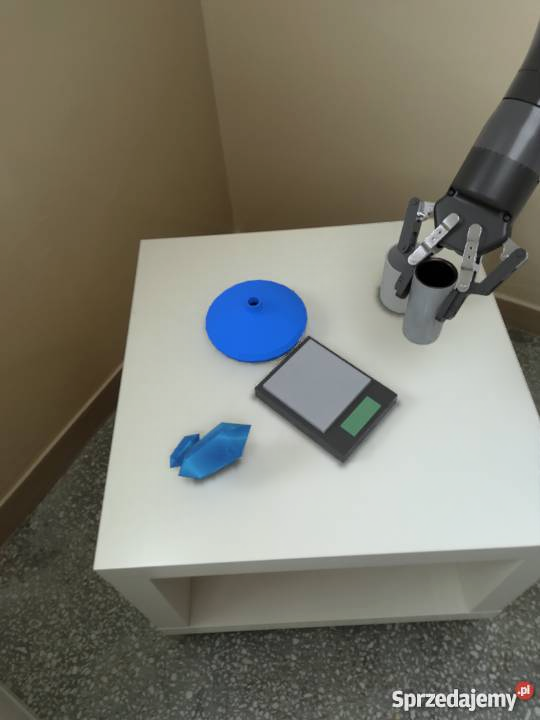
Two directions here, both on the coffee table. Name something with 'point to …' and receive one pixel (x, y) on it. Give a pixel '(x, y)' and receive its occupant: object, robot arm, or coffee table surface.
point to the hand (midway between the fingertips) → (419, 308)
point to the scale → (326, 397)
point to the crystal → (210, 450)
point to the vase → (256, 321)
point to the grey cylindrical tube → (428, 299)
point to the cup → (393, 279)
